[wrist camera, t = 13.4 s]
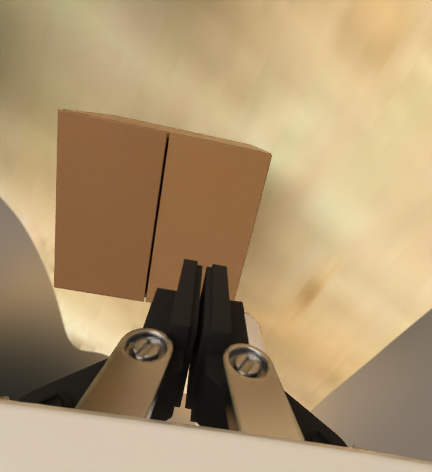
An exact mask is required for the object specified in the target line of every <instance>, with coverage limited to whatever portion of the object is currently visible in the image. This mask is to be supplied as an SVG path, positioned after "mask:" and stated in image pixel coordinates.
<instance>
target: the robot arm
mask: <svg viewBox="0 0 432 472" xmlns="http://www.w3.org/2000/svg"><path fill="white" fill-rule="evenodd" d="M197 264H198V261H195V260H189V259H184V262H183V266H182V270H181V275H180V279H179V284H178V288H177V291H175V290H169V289H163V288H157V290H156V292H155V295H154V298H153V301H152V304H151V307H150V310H149V312H148V315H147V318H146V321H145V324H144V327H143V328H140V329H136V330H133V331H131V332H129V333H127V334H126V335H125V336H124V337H123V338H122V339H121V340H120V342H119V343H118V345H117V346H116V348H115V349H114V351H113V352H112V354H111V355H110V357H109V358H107V359H105V360H103V361H100V362H98V363H96V364H94V365H91V366H89V367H87V368H85V369H82V370H80V371H77V372H75V373H73V374H71V375H68V376H66V377H64V378H61V379H59V380H57V381H55V382H52V383H50V384H47V385H45V386H43V387H41V388H39V389H36V390H34V391H32V392H30V393H28V394H26V395H24V396H23V397H21V398H20V399H19V400H18V401H10V400H9V397H0V472H432V462H429V461H424V460H419V459H414V458H409V457H403V456H398V455H392V454H387V453H381V452H374V451H369V450H366V449H363V448H360V447H358V446H355V445H354V446H353V447H352V448H349V447H347V445H346V444H345V442H344V441H343V440H342V439H341V438H340V437H339V436H338V435H337V434H336V433H334V432H333V431H332V430H331V429H330V428H328V427H327V426H326V425H325V424H323V423H322V422H321V421H320V420H319V419H318V418H316V417H315V416H314V415H313V414H312V413H310V412H309V411H308V410H307V409H306V408H304V407H303V406H302V405H301V404H300V403H298V402H297V401H296V400H295V399H294V398H292V397H291V396H290V395H289V394H288V393H286V392H285V391H284V389H283V387H282V385H281V382H280V380H279V377H278V375H277V373H276V370H275V368H274V366H273V363H272V361H271V360H270V358H269V357H268V356H267V355H266V354H265V353H264V352H263V351H262V350H260V349H259V348H257V347H254V346H252V345H249V340H248V333H247V327H246V320H245V314H244V308H243V303H242V302H238V301H232V300H230V299H229V287H228V275H227V266H222V265H216V264H213V265H212V267H207V268H206V272H205V277H204V281H203V286H202V291H201V280H202V268H203V266H201V265H197ZM200 291H201V295H200ZM189 364H190V366H189ZM188 369H189V375H188V385H187V395H186V405H185V408H188V409H191V420H190V421H192V422H197V423H198V424H199V426H197V425H190V424H183V423H176V422H168V421H166V420H168V419H169V418H171V417H172V415H173V411H174V407H180V405H181V400H182V396H183V391H184V387H185V382H186V378H187V373H188Z"/></svg>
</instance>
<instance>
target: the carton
mask: <svg viewBox="0 0 432 472" xmlns="http://www.w3.org/2000/svg"><path fill="white" fill-rule="evenodd" d="M170 133H172V134H176V135H181V136H186V137H190V138H195V139H200V140H205V141H209V142H214V143H219V144H223V145H228V146H233V147H237V148H242V149H247V150H251V151H256V152H261V153H265V154H270V155H271V153H268V152H266V151H264V150H261V149H259V148H257V147H255V146H252V145H249V144H244V143H240V142H235V141H230V140H226V139H221V138H216V137H212V136H207V135H202V134H198V133H193V132H189V131H184V130H179V129H175V128H170V127H165V126H161V125H156V124H151V123H147V122H142V121H137V120H133V119H128V118H123V117H119V116H114V115H108V114H99V113H91V112H83V111H74V110H66V109H63V110H58V138H57V182H56V225H55V269H54V287H56V288H62V289H68V290H75V291H81V292H87V293H93V294H99V295H106V296H112V297H118V298H124V299H130V300H137V301H144V297H146V296H147V289H148V282H149V275H150V268H151V261H152V254H153V248H154V241H155V234H156V227H157V220H158V213H159V206H160V199H161V192H162V185H163V178H164V171H165V164H166V157H167V150H168V143H169V136H170Z"/></svg>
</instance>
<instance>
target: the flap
mask: <svg viewBox="0 0 432 472" xmlns="http://www.w3.org/2000/svg"><path fill="white" fill-rule="evenodd" d="M271 157H272V155H270V154H265V153H261V152H256V151H251V150H247V149H242V148H237V147H233V146H228V145H223V144H219V143H214V142H209V141H205V140H200V139H195V138H190V137H186V136H181V135H176V134H172V133H170V136H169V143H168V150H167V157H166V164H165V171H164V178H163V185H162V192H161V199H160V206H159V213H158V220H157V227H156V234H155V241H154V248H153V254H152V261H151V268H150V275H149V282H148V289H147V296H146V302H152V301H153V298H154V295H155V292H156V290H157V288H163V289H169V290H175V291H177V288H178V284H179V279H180V275H181V270H182V266H183V262H184V259H189V260H195V261H198V264H197V265H201V266H203V268H202V280H201V291H202V286H203V281H204V277H205V272H206V268H207V267H212V265H213V264H216V265H222V266H227V275H228V287H229V299H230V300H232V301H234V299H235V296H236V292H237V288H238V284H239V280H240V276H241V272H242V269H243V265H244V261H245V257H246V253H247V249H248V246H249V242H250V238H251V234H252V230H253V226H254V222H255V219H256V215H257V211H258V207H259V203H260V199H261V196H262V192H263V188H264V184H265V180H266V176H267V172H268V169H269V165H270V161H271ZM201 291H200V295H201Z"/></svg>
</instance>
